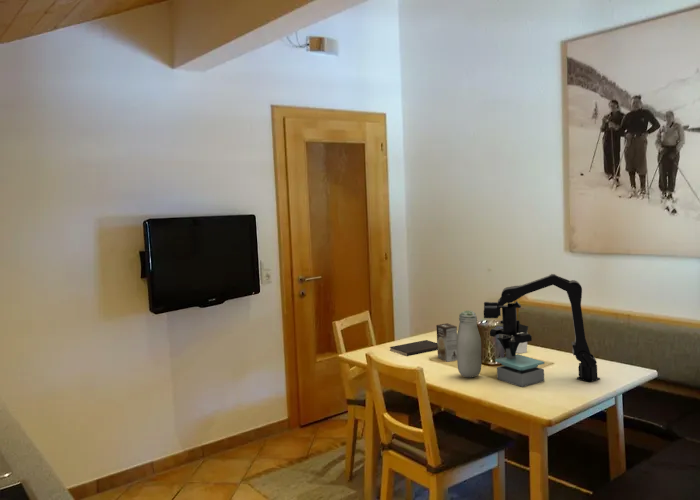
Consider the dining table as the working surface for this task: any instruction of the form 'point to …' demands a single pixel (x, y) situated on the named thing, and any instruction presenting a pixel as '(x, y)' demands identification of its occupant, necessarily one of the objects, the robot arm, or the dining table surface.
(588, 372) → the robot arm
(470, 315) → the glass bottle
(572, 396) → the dining table surface
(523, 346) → the white cup
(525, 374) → the parts tub
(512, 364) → the lid
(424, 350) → the hardcover book
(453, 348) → the coffee box
